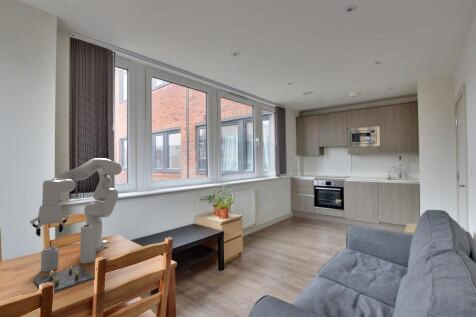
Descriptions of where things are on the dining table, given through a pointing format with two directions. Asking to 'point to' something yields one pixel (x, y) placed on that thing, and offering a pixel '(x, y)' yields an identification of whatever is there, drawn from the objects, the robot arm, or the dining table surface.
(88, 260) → the paper towel roll
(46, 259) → the can
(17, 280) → the dining table surface
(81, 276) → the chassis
